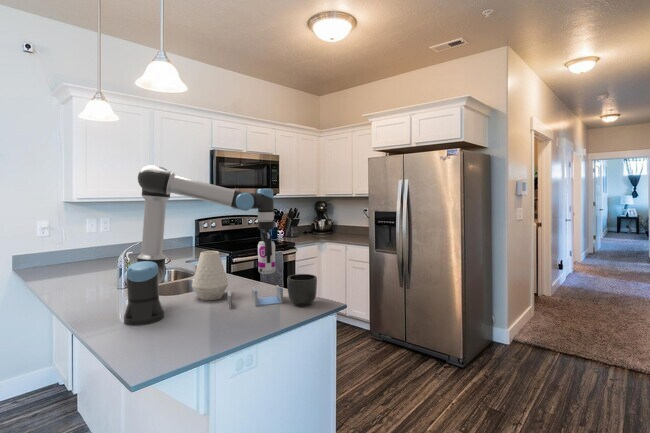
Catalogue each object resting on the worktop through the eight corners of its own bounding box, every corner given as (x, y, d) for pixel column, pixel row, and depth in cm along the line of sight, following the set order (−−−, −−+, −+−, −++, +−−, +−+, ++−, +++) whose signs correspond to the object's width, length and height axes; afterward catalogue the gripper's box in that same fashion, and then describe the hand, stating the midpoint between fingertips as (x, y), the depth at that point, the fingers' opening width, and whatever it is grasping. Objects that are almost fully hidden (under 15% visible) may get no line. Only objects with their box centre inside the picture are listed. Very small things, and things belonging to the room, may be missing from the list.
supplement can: (272, 274, 175) (271, 242, 174) (255, 273, 176) (255, 242, 176) (277, 270, 183) (277, 240, 182) (262, 270, 184) (261, 240, 183)
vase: (187, 296, 189) (186, 251, 188) (220, 291, 200) (219, 248, 198) (199, 304, 175) (198, 256, 174) (234, 298, 186) (233, 252, 185)
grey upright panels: (228, 308, 169) (228, 293, 169) (227, 301, 180) (226, 286, 180) (283, 303, 177) (282, 288, 176) (278, 296, 188) (278, 282, 188)
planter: (292, 299, 184) (291, 273, 183) (319, 300, 181) (319, 274, 180) (284, 307, 170) (283, 280, 169) (313, 309, 168) (313, 281, 167)
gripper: (278, 222, 169) (278, 271, 171) (270, 219, 189) (270, 263, 191) (261, 222, 167) (262, 272, 168) (255, 219, 187) (256, 264, 188)
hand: (266, 267), depth 179 cm, fingers closed on supplement can, 8 cm apart
